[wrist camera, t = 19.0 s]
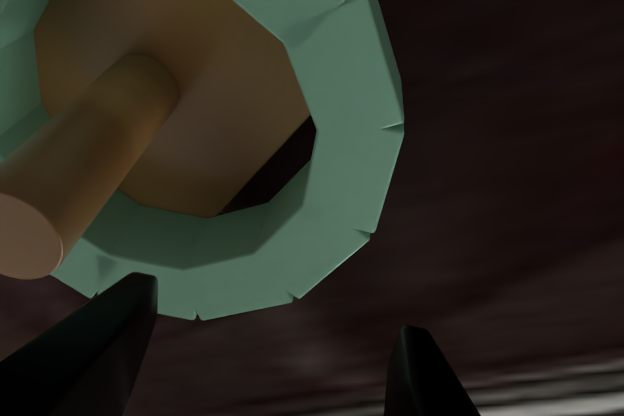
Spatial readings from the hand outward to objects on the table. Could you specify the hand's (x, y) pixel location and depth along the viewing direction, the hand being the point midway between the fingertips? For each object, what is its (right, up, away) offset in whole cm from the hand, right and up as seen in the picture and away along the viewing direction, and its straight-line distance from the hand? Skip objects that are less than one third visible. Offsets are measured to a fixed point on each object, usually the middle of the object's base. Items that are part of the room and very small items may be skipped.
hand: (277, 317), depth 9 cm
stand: (-4, +6, +7) cm, 10 cm away
